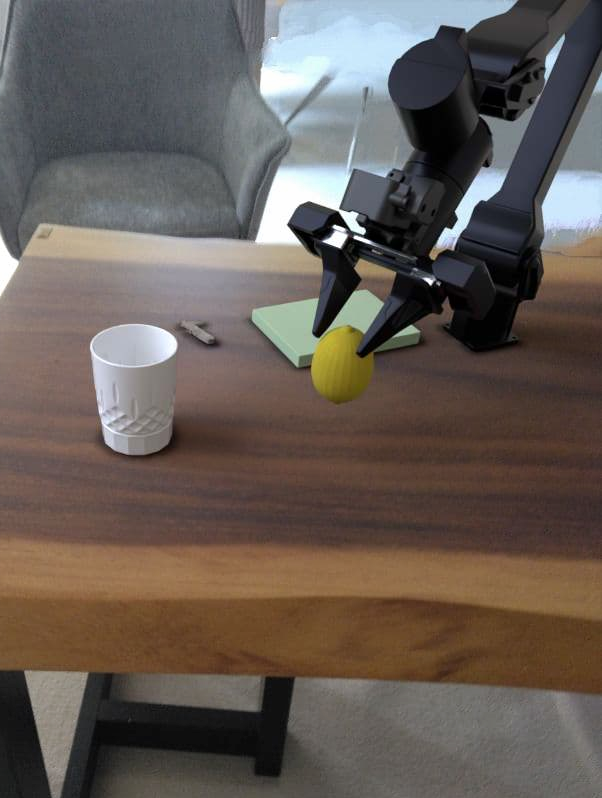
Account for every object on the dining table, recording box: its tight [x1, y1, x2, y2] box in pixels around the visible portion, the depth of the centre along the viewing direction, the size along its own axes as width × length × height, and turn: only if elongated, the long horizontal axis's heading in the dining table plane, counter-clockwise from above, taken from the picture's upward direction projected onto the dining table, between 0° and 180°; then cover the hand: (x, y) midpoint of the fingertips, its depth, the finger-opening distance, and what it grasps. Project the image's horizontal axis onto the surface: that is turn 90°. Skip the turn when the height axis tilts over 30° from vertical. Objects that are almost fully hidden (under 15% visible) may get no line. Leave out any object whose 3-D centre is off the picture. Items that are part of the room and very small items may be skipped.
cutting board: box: [251, 288, 421, 369], centre depth 94 cm, size 16×12×2 cm
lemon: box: [310, 325, 375, 406], centre depth 72 cm, size 6×6×8 cm
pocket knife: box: [180, 319, 215, 345], centre depth 93 cm, size 6×1×3 cm
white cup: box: [89, 323, 179, 456], centre depth 75 cm, size 8×8×10 cm
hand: (336, 345), depth 69 cm, fingers closed on lemon, 4 cm apart
